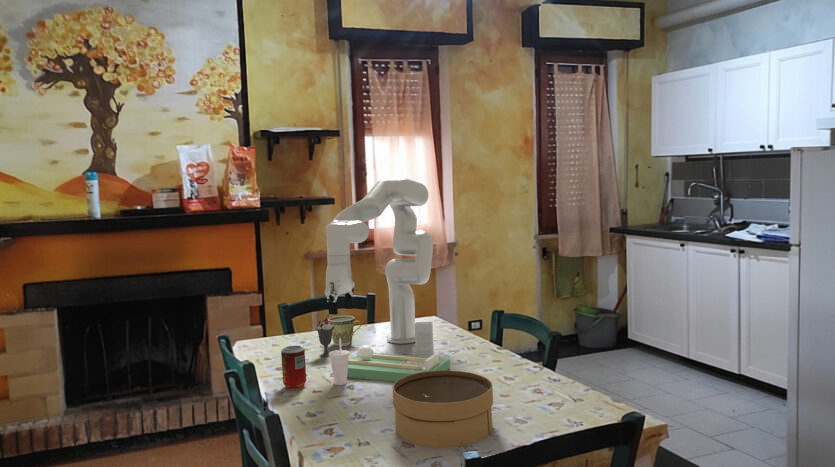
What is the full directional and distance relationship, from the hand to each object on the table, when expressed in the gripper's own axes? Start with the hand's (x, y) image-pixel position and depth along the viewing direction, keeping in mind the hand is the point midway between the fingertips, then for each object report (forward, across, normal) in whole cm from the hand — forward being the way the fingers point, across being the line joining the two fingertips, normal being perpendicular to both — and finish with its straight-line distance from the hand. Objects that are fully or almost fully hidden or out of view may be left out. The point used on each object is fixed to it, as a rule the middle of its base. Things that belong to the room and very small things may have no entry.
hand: (341, 311), depth 213 cm
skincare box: (+19, -20, +21) cm, 35 cm away
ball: (+14, 0, +8) cm, 16 cm away
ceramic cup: (+19, -27, -15) cm, 36 cm away
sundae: (+19, -11, -14) cm, 26 cm away
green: (+19, -1, +18) cm, 27 cm away
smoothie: (+19, +15, +8) cm, 25 cm away
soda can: (+20, +22, -4) cm, 30 cm away
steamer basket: (+20, +37, +51) cm, 66 cm away
